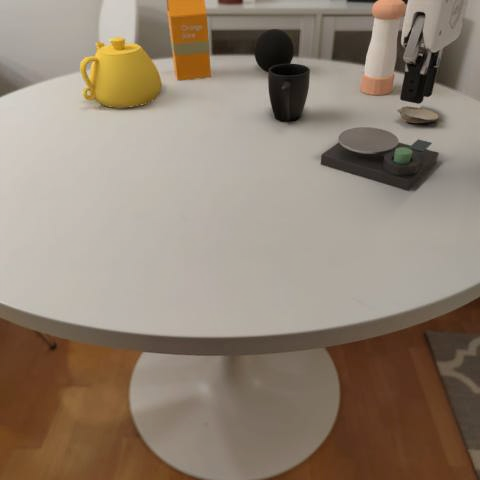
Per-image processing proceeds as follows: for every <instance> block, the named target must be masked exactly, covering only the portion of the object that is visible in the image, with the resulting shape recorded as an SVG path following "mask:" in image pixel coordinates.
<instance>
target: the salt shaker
mask: <svg viewBox="0 0 480 480" xmlns="http://www.w3.org/2000/svg"><path fill="white" fill-rule="evenodd" d="M406 8H407V4H406V3H405V1H403V0H376V1H375V2H374V3H373V5H372V8H371V14H372V17H374V18H373V25H372V32H371V38H370V42H369V45H368V49H367V52H366V56H365V64H364V71H363V72H362V73H361V81H360V89H359V90H360V92H361V93H364V94H367V95H370V96H384V95H388V94H391V93H392V92H393V87H394V82H395V77H396V75H395V67H396V63H397V52H398V51H397V49H398V36H399V30H400V26H401V25H400V24H401V18H402V17H405V13H406Z"/></svg>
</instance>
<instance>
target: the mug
mask: <svg viewBox="0 0 480 480" xmlns="http://www.w3.org/2000/svg"><path fill="white" fill-rule="evenodd" d="M267 73H268V75H267V79H268V80H267V83H268V84H267V86H268V87H267V88H268V95H269V102H270V106H271V110H272V113H273V118H274V120H275V121H277V122H282V123H294V122H297V121H299V120H300V119H301V117H302V115H303V111H304V109H305V105H306V101H307V100H308V99H307V98H308V95H309V88H310V79H311V78H310V77H311V69H310V67H309V66H307V65H304V64H299V63H290V64H279V65H275V66H272V67H271V68H269V71H268V72H267Z"/></svg>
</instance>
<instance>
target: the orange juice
mask: <svg viewBox="0 0 480 480" xmlns="http://www.w3.org/2000/svg"><path fill="white" fill-rule="evenodd" d="M166 5H167V6H166V7H167V10H166V13H167V19H168V28H169V37H170V38H169V39H170V46H171V53H172V61H173V70H174V74H175V77H176V80H177V81H178V80H180V81H188V80H187V79H190V80H196V79H195V78H200V79H206V78H205V77H209V78H212V70H211V69H212V68H211V56H210V54H211V53H210V41H209V40H210V39H209V27H208V16H207V15H208V14H207V9H206V7H207V6H206V2H205V0H166Z"/></svg>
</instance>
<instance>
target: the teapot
mask: <svg viewBox="0 0 480 480" xmlns="http://www.w3.org/2000/svg"><path fill="white" fill-rule="evenodd" d="M109 42H110V44H108V45H107V44H106V45H105V42H102V41H98V42H97V41H96V42H94V43H95V48H96V52H95V54H94V56H93V55H89V56H86V57H84V58H83V59H82V60H81V61H80V64H79V71H80V74H81V78H82V79H83V81H84V83H85V85H86V87H84V88H83V89H82V96H83V98H84V99H85V100H86V101H94V100H96V101H97V102H99V103H100V104H101V105H102V104H103V105H102V106H104V105H106V106H105V107H107V106H111V107H130V106H136V105H141V104H144V105H146V104H145V103H147V104H149V103H151V102H153V101H155V100H156V98H157V97H158V95H159V94H160V92H161V90H162V87H163V84H162V79H161V76H160V73H159V70H158V68H157V67H156V64H155V63H154V61H153V60H152V58H151V57H150V56H149V55H148V52H147V51H145V50H144V49H143V47H142V46H141V45H140V44H137V43H131V42H127V43H126V38H125V37H122V36H117V37H116V36H115V37H112V38H109ZM89 64H91V66H90V70H89V76H88V72H87V66H88V65H89ZM88 91H89V94H88ZM152 100H153V101H152ZM148 102H149V103H148ZM141 106H142V105H141ZM111 107H110V108H111Z"/></svg>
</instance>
